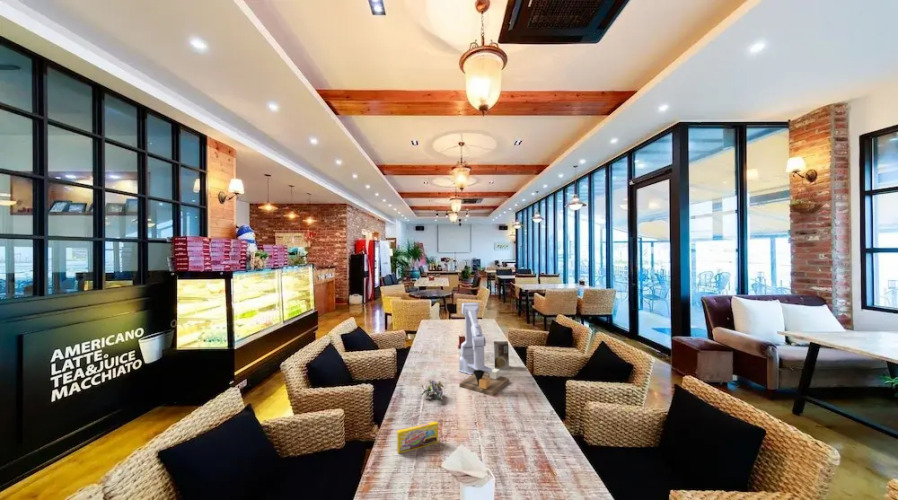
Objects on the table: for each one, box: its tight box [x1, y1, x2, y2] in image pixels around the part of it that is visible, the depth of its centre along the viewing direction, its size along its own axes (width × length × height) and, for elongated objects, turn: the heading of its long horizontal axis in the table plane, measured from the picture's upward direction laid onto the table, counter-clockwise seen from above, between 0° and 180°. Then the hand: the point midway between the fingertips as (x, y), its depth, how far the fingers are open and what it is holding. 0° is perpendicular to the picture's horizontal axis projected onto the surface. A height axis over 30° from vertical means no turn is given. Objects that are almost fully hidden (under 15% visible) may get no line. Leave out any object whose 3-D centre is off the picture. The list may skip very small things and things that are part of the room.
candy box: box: [396, 421, 439, 455], centre depth 126 cm, size 16×2×8 cm, turn 114°
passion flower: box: [421, 379, 444, 401], centre depth 167 cm, size 11×11×12 cm
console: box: [459, 372, 510, 397], centre depth 182 cm, size 20×23×2 cm
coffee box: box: [493, 340, 510, 370], centre depth 207 cm, size 9×6×16 cm
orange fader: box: [479, 377, 490, 389], centre depth 174 cm, size 4×5×4 cm
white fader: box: [489, 367, 501, 379], centre depth 186 cm, size 4×5×4 cm
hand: (479, 383), depth 176 cm, fingers closed
